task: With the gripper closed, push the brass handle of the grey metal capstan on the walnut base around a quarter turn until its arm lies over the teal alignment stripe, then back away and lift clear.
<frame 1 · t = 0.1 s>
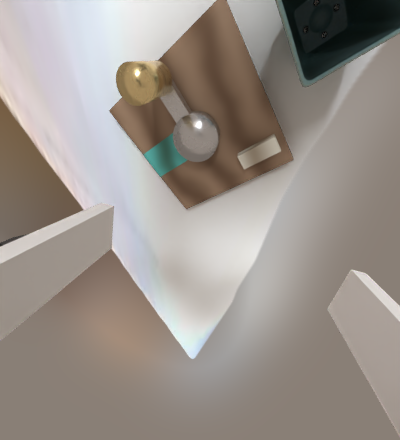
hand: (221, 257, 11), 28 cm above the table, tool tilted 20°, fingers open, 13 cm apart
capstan: (175, 120, 28), point 7 cm above the table, hinge at 0.0°
flower pot: (318, 19, 24), on the table
base plate: (201, 131, 34), on the table
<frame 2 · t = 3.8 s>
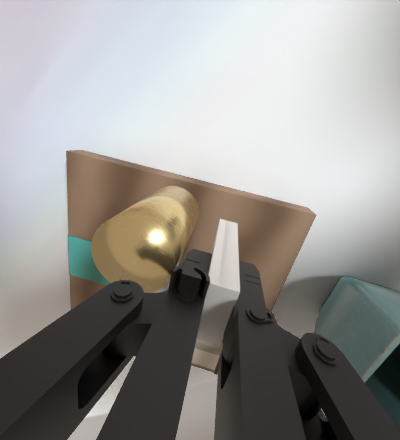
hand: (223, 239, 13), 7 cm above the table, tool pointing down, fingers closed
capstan: (153, 285, 15), point 7 cm above the table, hinge at 0.4°, touching gripper
flower pot: (352, 298, 21), on the table
base plate: (171, 272, 23), on the table
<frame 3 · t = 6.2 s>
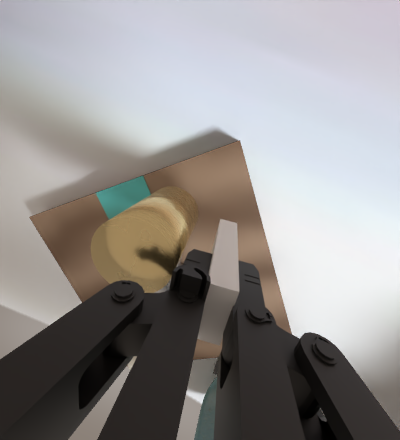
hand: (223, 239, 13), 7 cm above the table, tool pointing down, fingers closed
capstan: (152, 285, 15), point 7 cm above the table, hinge at 58.5°, touching gripper
flower pot: (241, 382, 28), on the table
base plate: (170, 273, 23), on the table
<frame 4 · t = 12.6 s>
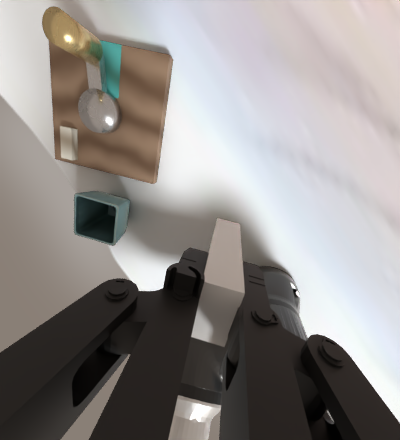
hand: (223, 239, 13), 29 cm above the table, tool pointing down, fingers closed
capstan: (85, 83, 33), point 7 cm above the table, hinge at 98.7°
flower pot: (119, 207, 47), on the table
base plate: (111, 115, 40), on the table
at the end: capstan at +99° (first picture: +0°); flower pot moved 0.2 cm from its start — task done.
